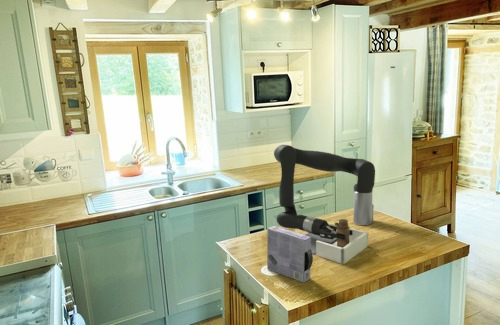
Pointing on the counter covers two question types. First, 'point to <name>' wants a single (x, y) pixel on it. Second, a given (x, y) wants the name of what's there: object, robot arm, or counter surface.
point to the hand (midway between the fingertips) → (348, 235)
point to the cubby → (344, 254)
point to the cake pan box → (289, 253)
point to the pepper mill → (343, 232)
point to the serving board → (316, 237)
